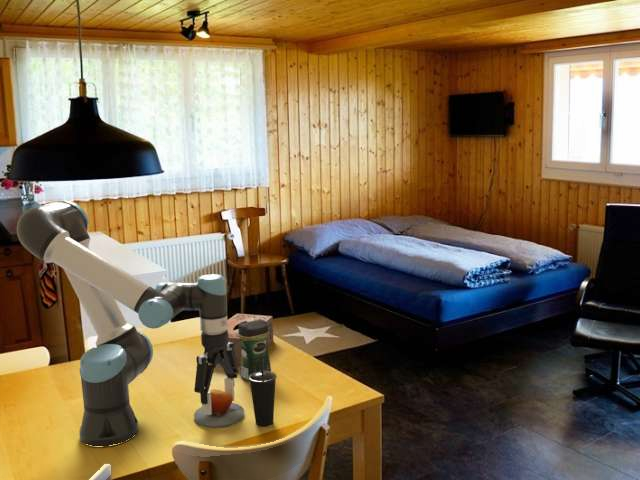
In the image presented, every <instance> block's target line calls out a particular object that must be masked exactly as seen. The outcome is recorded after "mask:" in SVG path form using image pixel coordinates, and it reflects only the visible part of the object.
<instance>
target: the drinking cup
mask: <svg viewBox="0 0 640 480" xmlns="http://www.w3.org/2000/svg"><path fill="white" fill-rule="evenodd" d="M260 359H261V371H257V372H255V373H252V374H250V375H249V377H248V379H249V380H248V381H249V386H250V392H251V399H252V407H253V413H254V420H255V425H256V426H257V427H261V428H266V427H270V426H272V425H273V424H274V417H275V416H274V414H275V413H274V412H275V398H276V397H275V396H276V395H275V394H276V393H275V392H276V379H277V377H278V376H277V374H276V373H275V372H272V371H271V372H269V371H263V354H260Z"/></svg>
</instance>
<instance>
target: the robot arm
mask: <svg viewBox="0 0 640 480" xmlns="http://www.w3.org/2000/svg"><path fill="white" fill-rule="evenodd" d="M89 222H90V221H89V218H88V214H87V213H86V211H85V210H84V208H82V206H80V205H79V204H78V203H75V202H73V201H70V200H56V201H53V202H50V203H46V204H45V203H44V204H43V205H38V206H34V207H31V208H28V209H27V210H26V211H24V212H23V213H22V214H21V215H20V216H19V219H18V221H17V224H16V235H17V238H18V240H19V242H20V244H21V245H22V246H23V247H24V249H26V250H27V251H28V252H29V253H30V254H32V255H33V256H35V257H36V258H38V259H39V260H40V261H42V262H45V263H46V264H51V263H54V264H55V265H57V266H59V267H61V268H62V269H63V271H64V273H65V274H66V277H67V279H68V280H69V282H70V286H71V287H72V288H73V290H74V292H75V295H76V296H77V299H78V300H79V302H80V304H81V306H82V309H83V310H84V312H85V314H86V316H87V318H88V319H89V323H90V324H91V326H92V327H93V329H94V331H95V333H96V335H97V339H96V342H95V346H96V347H92V348H89V350H87V351H86V352H84V353H83V354H82V356H81V357H80V362H79V375H80V381H81V383H80V384H81V391H82V399H83V400H82V401H83V410H84V411H83V416H82V421H81V426H80V428H79V440H81V441H82V442H83V443H85V444H88V445H92V446H109V445H113V444H118V443H121V442H124V441H126V440H128V439H130V438H132V437H133V436H134V435H136V436H137V435H138V433H139V430H138V429H139V421H138V419H137V417H136V415H135V412H134V410H133V408H132V406H131V402H130V389H129V385H130V384H131V382H133V381H134V380H135V379H136V378H137V377H139V376H140V375H141V374H143V373H144V371H145V370H147V368H148V366H149V365H150V364H151V362H152V359H153V356H154V348H153V344H152V342H151V340H150V338H149V337H148V336H147V335H146V334H145V333H142V332H141V331H138V329H137V328H136V326H135V324H133V323H131V322H127V320H126V319H125V317H124V315H123V312H122V311H121V309H120V306H119V305H118V303H120V304H122V305H123V306H124V307H127V308H129V309H130V310H132V311H133V312H135V313H136V314H138V315H137V317H138V319H139V321H140V322H141V324H142V325H143V326H145V327H146V328H147V329H159V328H161V327H164V326H165V325H166V324H168V323H169V322H171V320H172V319H173V318H174V317H176V316H177V315H178V314H180V313H181V312H182V311H199V325H200V338H201V339H200V341H201V345H202V347H203V348H204V352H203V355H201V356H199V355H197V356H196V370H195V372H196V373H195V379H194V380H195V382H194V392H195V393H197V394H200V395H199V396H200V403H201V407H202V413H204V414H208V415H211V414H212V406H211V392H209V391H210V386H211V383H212V378H213V374H214V371H215V369H216V368H217V366H218V365H220V366H221V368H222V370H223V372H224V374H225V377H224V378H223V381H224V391H226V392H228V393H230V394H231V395H232V397H233V401H232V402H234V401H235V379H237V378H238V374H239V372H240V370H239V366H238V365H237V360H236V356H235V352H234V343H230V342H229V334H228V330H227V329H228V299H227V298H228V297H227V293H228V291H227V285H226V280H225V279H226V278H225V277H224V276H223V275H221V274H218V273H217V274H215V273H211V274H203V275H200V276H199V277H198V278H197V282H177V281H175V282H174V281H168V282H167V281H165V282H159V283H158V284H157V285H156V287H155V288H154V287H152V286H151V285H149V284H148V283H145V282H144V281H142V280H140V279H139V278H137V277H135V276H134V275H133V274H131V273H129V272H127V271H125V270H124V269H122V268H121V267H119V266H118V265H116V264H114V263H112V262H111V261H109V260H108V259H106V258H104V257H103V256H101V255H99V254H98V253H96V252H94V251H93V250H91V249H90V247H89V245H90V242H91V237H90V235H89V233H88V228H89V227H88V226H89ZM117 302H118V303H117ZM218 363H220V364H218ZM137 432H138V433H137ZM134 437H135V436H134ZM134 437H133V438H134ZM133 438H132V439H133ZM130 440H131V439H130ZM81 441H80V442H81ZM82 442H81V443H82ZM83 443H82V444H83ZM124 443H125V442H124Z"/></svg>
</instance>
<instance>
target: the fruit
mask: <svg viewBox="0 0 640 480" xmlns="http://www.w3.org/2000/svg"><path fill="white" fill-rule="evenodd" d="M209 392H211V406H212V414H215V415H217V416H218V417H219V418H220V415H222V414H224V413H226V412H227V411H228V409H229V407H230V406H231V404H232V403H233V402H234V401H233V397H232V395H231V394H230V393H228V392H226V391H225V390H221V389H215V388H214V389H213V388H212V389H211V390H209ZM207 415H208V414H207Z"/></svg>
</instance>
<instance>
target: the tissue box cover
mask: <svg viewBox="0 0 640 480" xmlns="http://www.w3.org/2000/svg"><path fill="white" fill-rule="evenodd" d="M259 319H262V320H264V321H266V322H267V325H268V330H269V335H268V339H267V345H268V347H269V346H270V345H271V344H273V342H274V322H273V321H274V317H273V316H272V315H261V314H247V313H235V314H234V315H233V316H232V317H230V318H227V320H228V329H227V330H228V334H229V342H230V343H234V352H235V356H236V360H237V365H238V367H241V340H240V338H239V335H238V331H239V324H240V323H246V322H250V321H255V320H259ZM217 365H220V363H218V364H217Z"/></svg>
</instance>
